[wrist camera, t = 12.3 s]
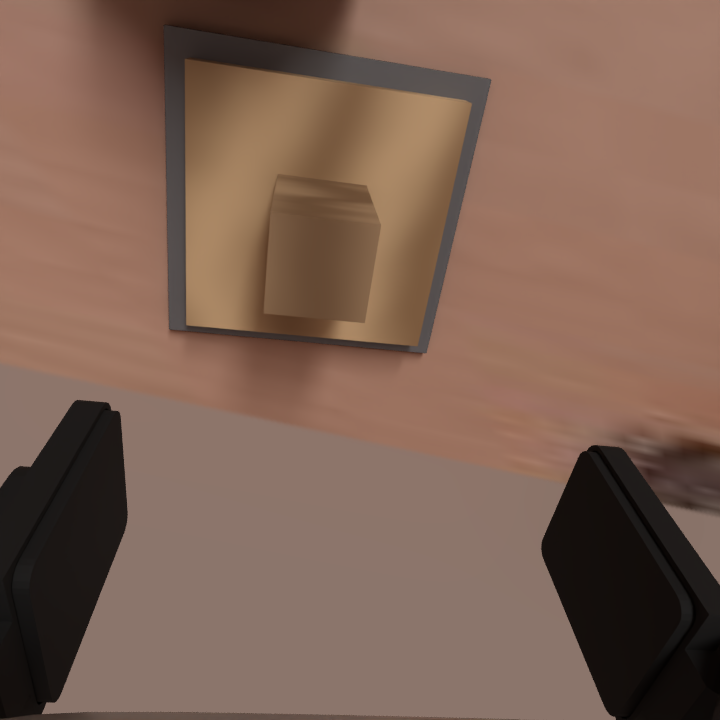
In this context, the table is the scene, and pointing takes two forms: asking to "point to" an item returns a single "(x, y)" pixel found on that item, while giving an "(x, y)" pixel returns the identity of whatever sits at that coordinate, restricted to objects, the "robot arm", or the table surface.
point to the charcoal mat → (313, 64)
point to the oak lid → (314, 202)
